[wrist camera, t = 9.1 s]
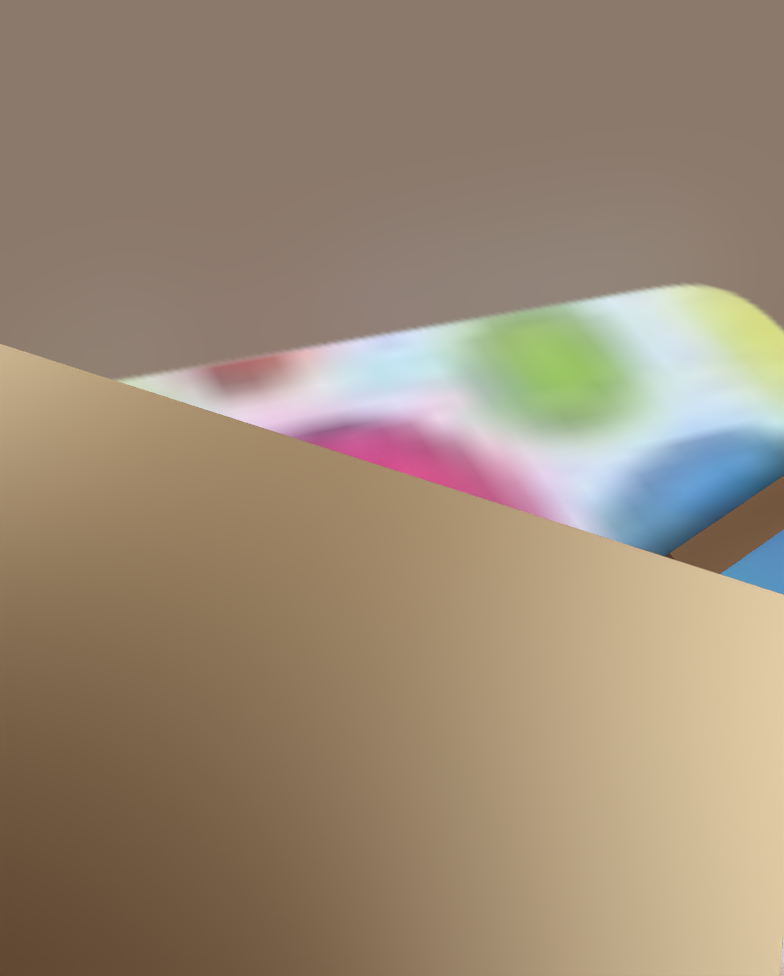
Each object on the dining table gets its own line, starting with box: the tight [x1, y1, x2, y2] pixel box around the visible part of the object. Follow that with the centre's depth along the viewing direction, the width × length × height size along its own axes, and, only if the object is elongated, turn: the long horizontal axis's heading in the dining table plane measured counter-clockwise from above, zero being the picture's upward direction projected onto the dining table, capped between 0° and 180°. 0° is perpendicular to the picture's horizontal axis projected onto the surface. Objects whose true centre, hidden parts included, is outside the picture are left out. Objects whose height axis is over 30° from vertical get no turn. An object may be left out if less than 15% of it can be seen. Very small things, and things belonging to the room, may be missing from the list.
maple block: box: [0, 344, 784, 976], centre depth 8 cm, size 5×5×13 cm
